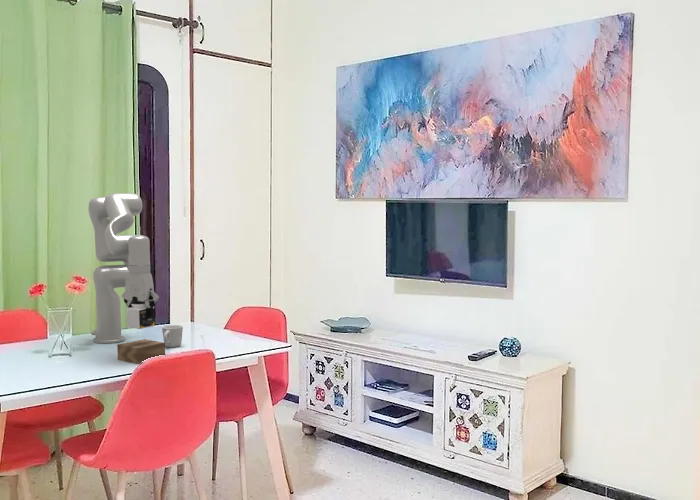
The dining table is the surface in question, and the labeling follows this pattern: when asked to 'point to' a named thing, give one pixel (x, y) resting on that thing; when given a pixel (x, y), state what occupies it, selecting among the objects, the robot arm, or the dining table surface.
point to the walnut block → (140, 350)
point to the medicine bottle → (138, 315)
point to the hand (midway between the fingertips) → (140, 317)
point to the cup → (172, 335)
